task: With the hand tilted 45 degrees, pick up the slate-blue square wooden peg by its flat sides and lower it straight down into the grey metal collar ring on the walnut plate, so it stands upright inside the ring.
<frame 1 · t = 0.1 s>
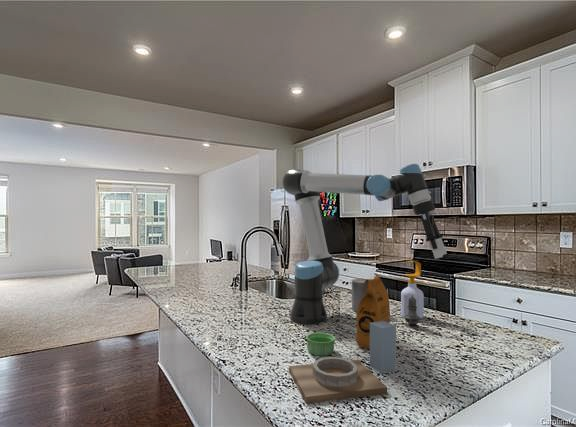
hand: (441, 256, 124), 28 cm above the counter, tool tilted 20°, fingers open, 13 cm apart
collar plate: (335, 382, 84), on the counter
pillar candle: (362, 311, 152), on the counter
coffee package: (373, 344, 110), on the counter
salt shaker: (412, 326, 129), on the counter
slate peg: (382, 367, 92), on the counter
soap bottle: (412, 316, 143), on the counter
ramekin: (320, 351, 104), on the counter
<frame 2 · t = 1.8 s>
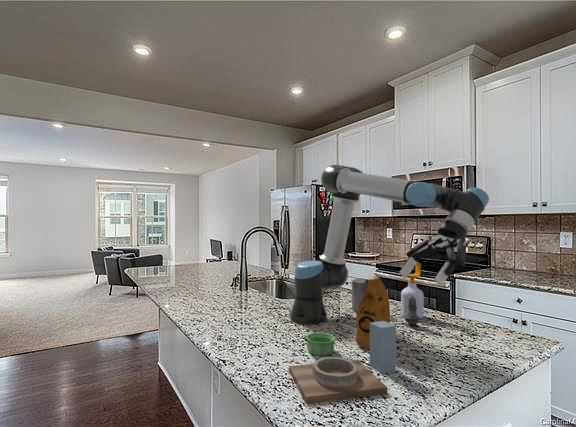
hand: (418, 278, 98), 24 cm above the counter, tool tilted 45°, fingers open, 13 cm apart
nothing on the counter moved.
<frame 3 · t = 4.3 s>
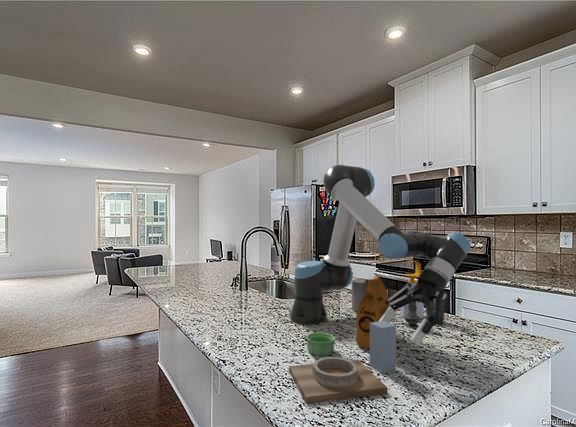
hand: (396, 333, 93), 9 cm above the counter, tool tilted 45°, fingers open, 13 cm apart
nothing on the counter moved.
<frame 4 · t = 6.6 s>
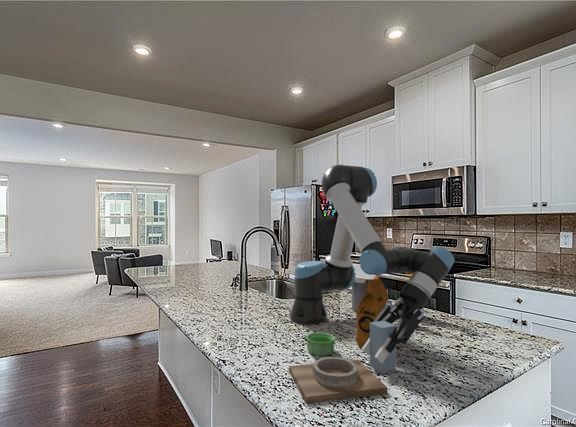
hand: (371, 355, 91), 4 cm above the counter, tool tilted 45°, fingers closed on slate peg, 5 cm apart
slate peg: (382, 367, 92), on the counter, touching gripper
everything else where it was.
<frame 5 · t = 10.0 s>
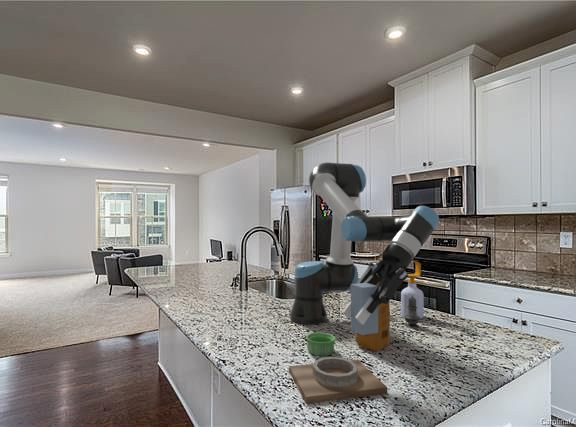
hand: (352, 318, 86), 16 cm above the counter, tool tilted 45°, fingers closed on slate peg, 5 cm apart
slate peg: (364, 330, 88), point 12 cm above the counter, touching gripper
everything else where it was.
when the fingers open (6 cm above the counter, at t = 13.3 s): slate peg stays where it is, resting on collar plate.
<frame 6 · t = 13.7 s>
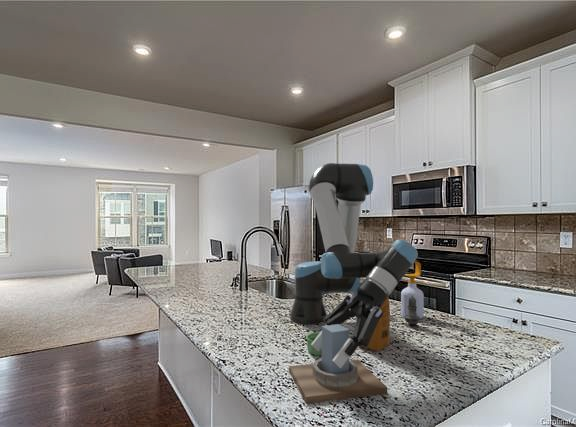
hand: (324, 355, 83), 7 cm above the counter, tool tilted 45°, fingers open, 10 cm apart
slate peg: (335, 375, 84), point 1 cm above the counter, touching collar plate
everything else where it was.
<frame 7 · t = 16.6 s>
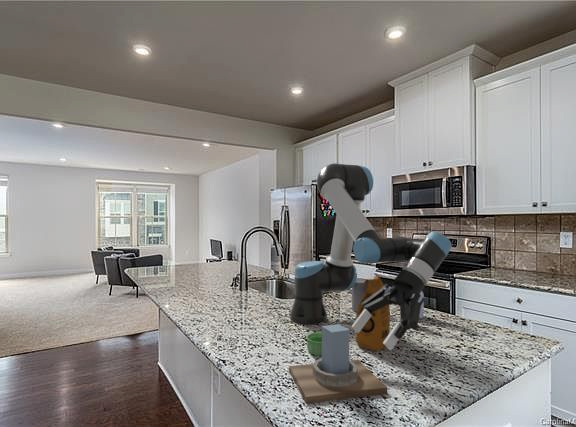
hand: (369, 337, 88), 10 cm above the counter, tool tilted 45°, fingers open, 13 cm apart
nothing on the counter moved.
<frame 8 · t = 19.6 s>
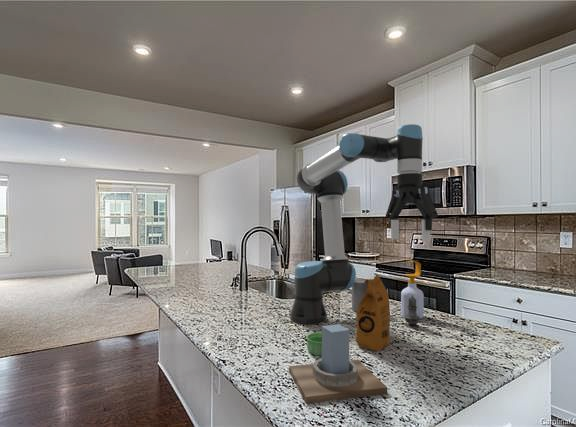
hand: (409, 240, 106), 35 cm above the counter, tool pointing down, fingers open, 13 cm apart
nothing on the counter moved.
at the end: slate peg 0.0 cm off-centre on the collar plate, point 1.5 cm above the collar plate's base; slate peg tilted 0°; the gripper is holding nothing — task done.
